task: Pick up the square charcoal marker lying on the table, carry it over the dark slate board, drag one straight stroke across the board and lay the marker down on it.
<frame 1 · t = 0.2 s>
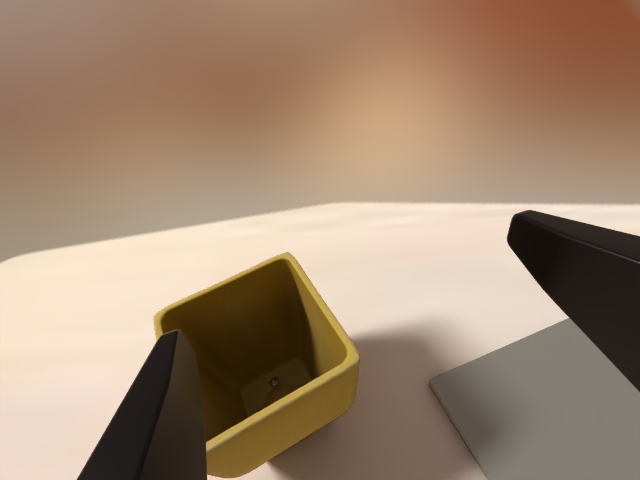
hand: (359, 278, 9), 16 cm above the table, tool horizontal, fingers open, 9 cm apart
slate board: (613, 436, 19), on the table
flower pot: (285, 406, 23), on the table
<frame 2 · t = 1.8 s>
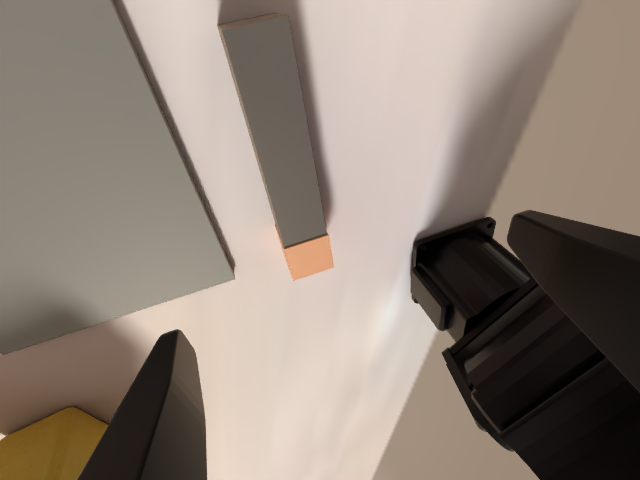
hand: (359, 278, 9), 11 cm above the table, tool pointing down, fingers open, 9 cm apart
slate board: (40, 201, 15), on the table
marker: (275, 137, 17), on the table
flower pot: (67, 428, 25), on the table
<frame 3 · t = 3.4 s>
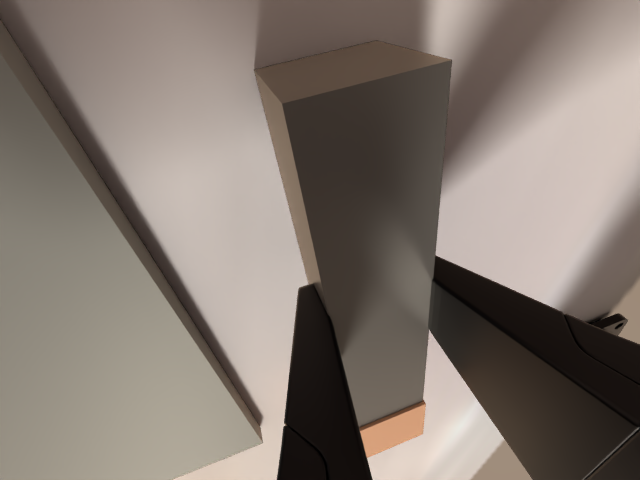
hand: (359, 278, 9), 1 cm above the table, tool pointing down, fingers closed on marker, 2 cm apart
marker: (345, 254, 9), on the table, touching gripper
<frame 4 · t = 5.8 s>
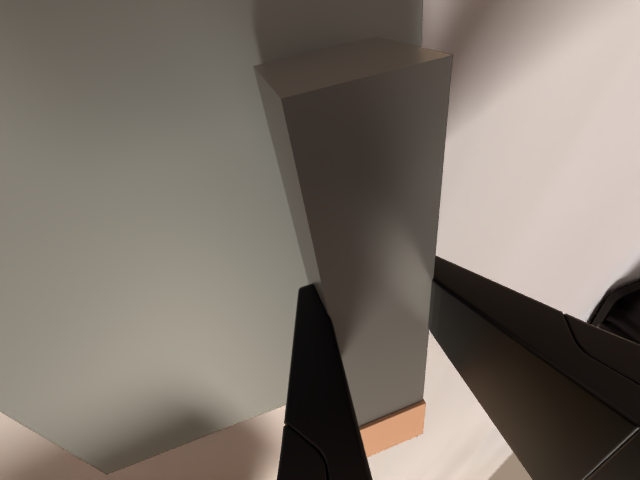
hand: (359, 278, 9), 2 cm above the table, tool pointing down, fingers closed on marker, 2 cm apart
slate board: (200, 274, 10), on the table
marker: (345, 252, 9), point 1 cm above the table, touching gripper
when the fingers open (2 cm above the table, at t = 8.4 s): marker stays where it is, resting on slate board.
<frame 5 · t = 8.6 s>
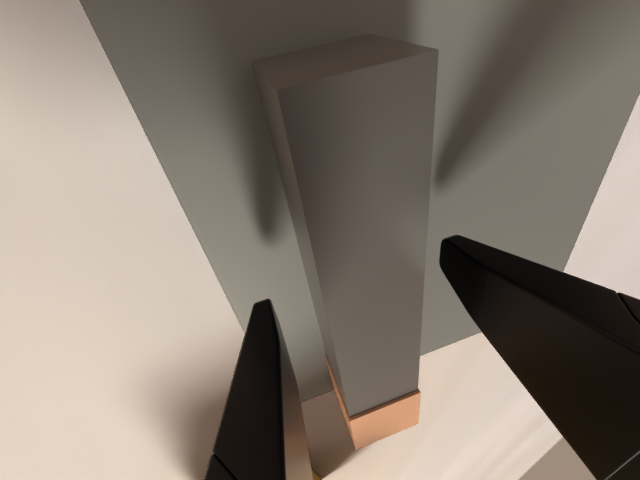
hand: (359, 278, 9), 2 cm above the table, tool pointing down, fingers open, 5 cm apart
slate board: (423, 207, 10), on the table
marker: (341, 244, 10), point 1 cm above the table, touching slate board
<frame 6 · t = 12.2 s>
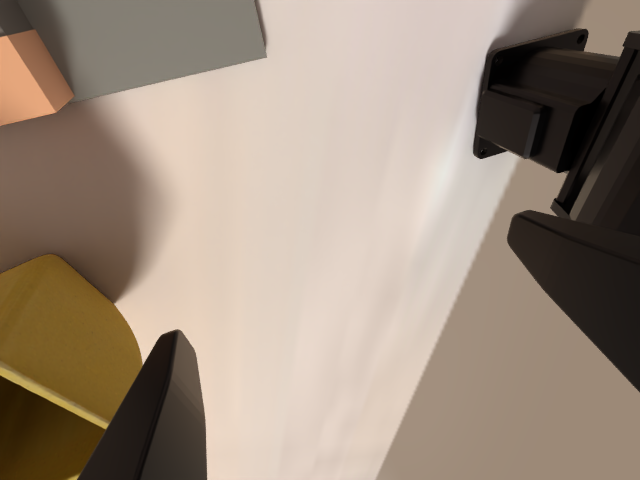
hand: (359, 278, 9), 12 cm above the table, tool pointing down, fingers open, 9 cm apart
flower pot: (50, 294, 20), on the table
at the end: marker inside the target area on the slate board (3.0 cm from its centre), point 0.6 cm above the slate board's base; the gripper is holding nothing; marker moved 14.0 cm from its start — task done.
